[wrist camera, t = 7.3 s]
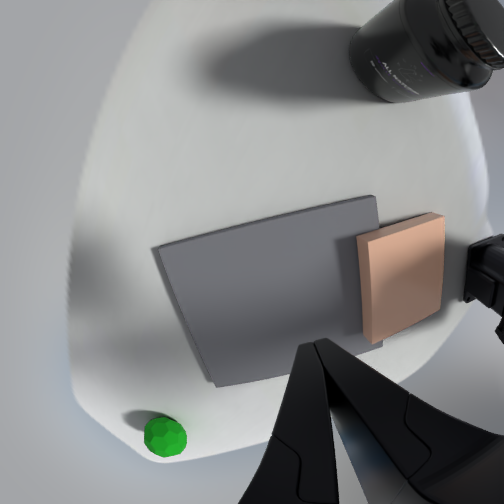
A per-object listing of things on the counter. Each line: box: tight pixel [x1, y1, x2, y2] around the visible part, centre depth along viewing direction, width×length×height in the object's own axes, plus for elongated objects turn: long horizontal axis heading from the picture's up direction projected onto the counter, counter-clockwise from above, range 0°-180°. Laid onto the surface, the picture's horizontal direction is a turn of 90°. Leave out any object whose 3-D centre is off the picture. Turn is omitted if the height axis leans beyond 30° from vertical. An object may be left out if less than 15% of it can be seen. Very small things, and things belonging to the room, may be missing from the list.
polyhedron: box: [144, 417, 187, 457], centre depth 24 cm, size 5×5×5 cm
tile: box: [356, 212, 445, 344], centre depth 20 cm, size 2×9×8 cm
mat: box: [158, 195, 383, 388], centre depth 21 cm, size 16×14×1 cm
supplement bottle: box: [349, 0, 504, 103], centre depth 10 cm, size 7×7×12 cm
